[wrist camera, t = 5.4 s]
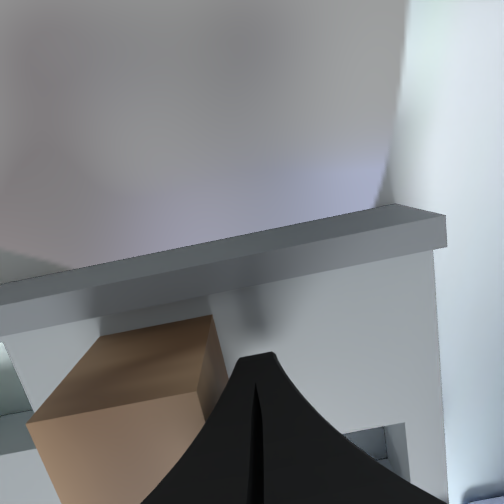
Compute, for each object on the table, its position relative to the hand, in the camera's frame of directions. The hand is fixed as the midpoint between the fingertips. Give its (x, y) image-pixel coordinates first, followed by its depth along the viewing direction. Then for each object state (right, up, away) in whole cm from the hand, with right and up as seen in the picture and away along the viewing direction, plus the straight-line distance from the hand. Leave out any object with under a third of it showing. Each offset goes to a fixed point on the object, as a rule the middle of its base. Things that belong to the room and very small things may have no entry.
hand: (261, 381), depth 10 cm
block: (-3, 0, +1) cm, 4 cm away
